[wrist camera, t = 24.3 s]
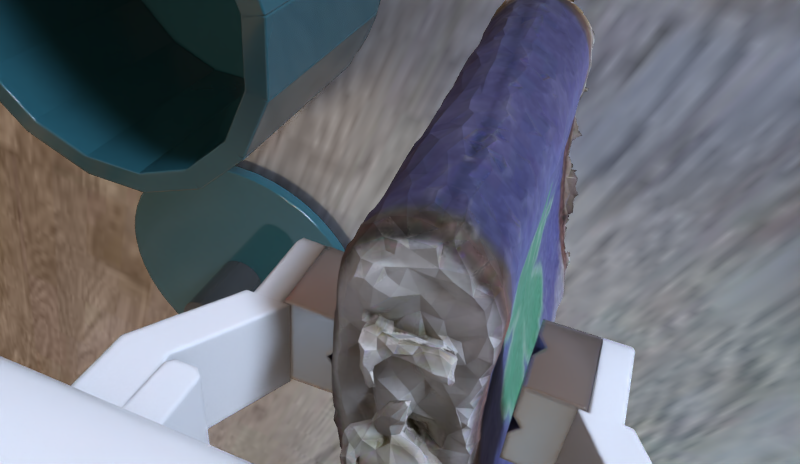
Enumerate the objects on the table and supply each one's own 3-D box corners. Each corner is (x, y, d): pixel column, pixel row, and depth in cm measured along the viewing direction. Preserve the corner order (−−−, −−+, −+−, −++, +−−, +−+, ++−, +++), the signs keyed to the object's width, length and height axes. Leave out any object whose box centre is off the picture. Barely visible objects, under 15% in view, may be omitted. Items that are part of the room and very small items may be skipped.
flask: (565, 309, 20) (460, 718, 12) (468, 288, 21) (309, 656, 13) (608, -13, 14) (462, 359, 6) (472, -21, 15) (193, 293, 7)
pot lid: (377, 201, 31) (332, 261, 28) (360, 386, 40) (324, 450, 36) (131, 124, 34) (63, 169, 31) (164, 311, 43) (114, 363, 39)
